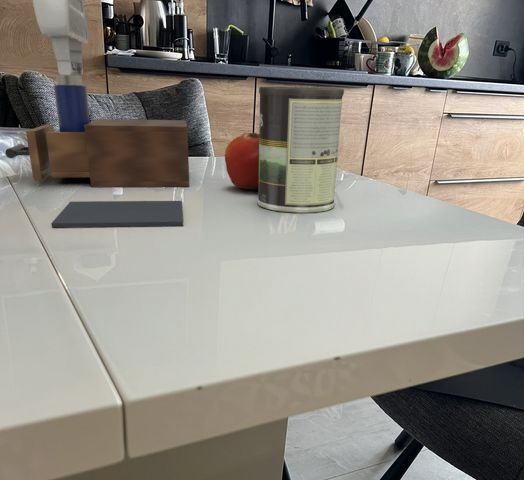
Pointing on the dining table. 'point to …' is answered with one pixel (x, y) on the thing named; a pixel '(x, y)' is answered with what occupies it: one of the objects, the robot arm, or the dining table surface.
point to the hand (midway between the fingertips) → (71, 75)
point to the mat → (120, 214)
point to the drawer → (54, 153)
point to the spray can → (71, 103)
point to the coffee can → (298, 148)
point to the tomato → (243, 161)
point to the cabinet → (137, 153)
